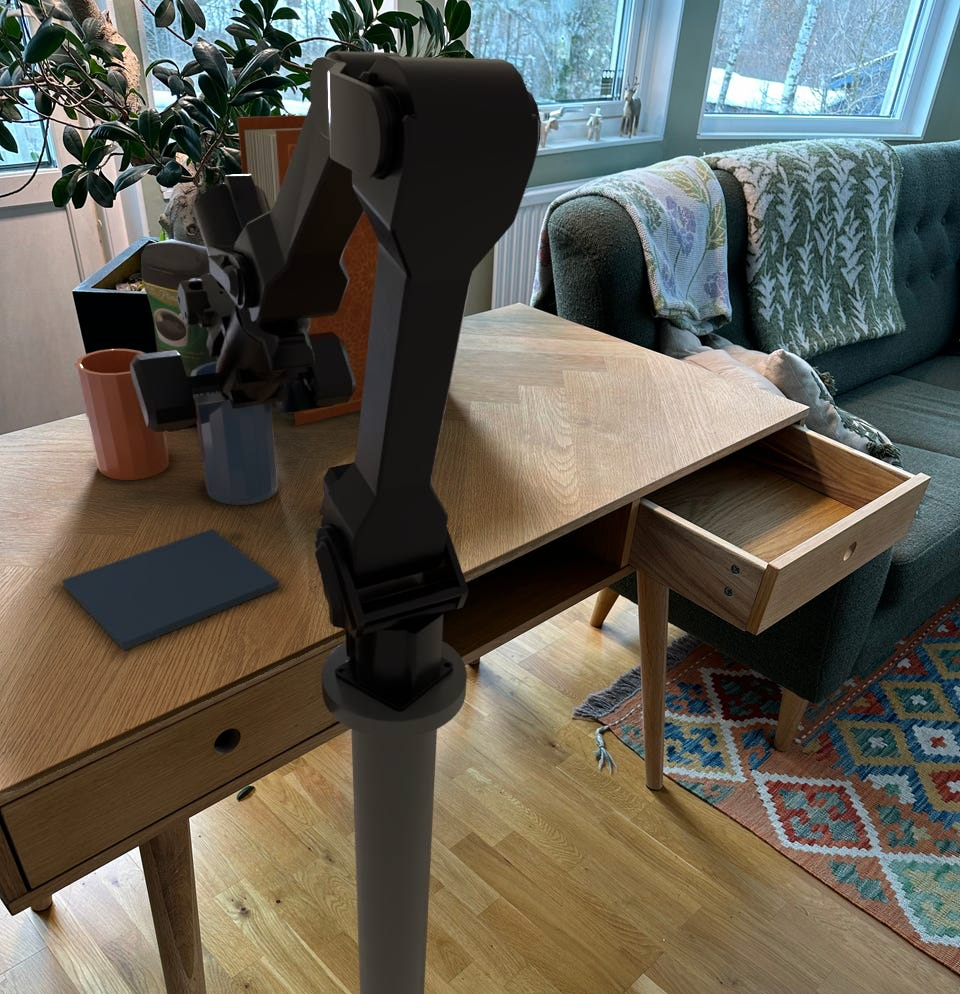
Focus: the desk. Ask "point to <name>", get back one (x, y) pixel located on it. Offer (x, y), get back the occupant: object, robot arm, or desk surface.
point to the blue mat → (168, 587)
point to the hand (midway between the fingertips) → (233, 416)
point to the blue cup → (236, 449)
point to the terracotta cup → (118, 417)
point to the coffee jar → (175, 298)
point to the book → (267, 163)
